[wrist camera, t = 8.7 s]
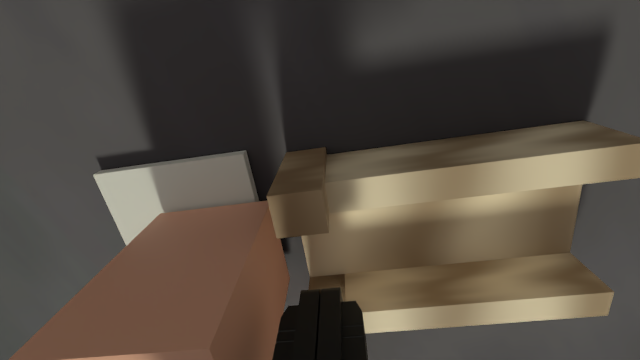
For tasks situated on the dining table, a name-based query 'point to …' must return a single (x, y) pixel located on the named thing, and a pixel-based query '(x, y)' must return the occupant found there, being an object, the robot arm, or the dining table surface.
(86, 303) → the block
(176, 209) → the felt mat
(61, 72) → the dining table surface
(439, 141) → the chute
